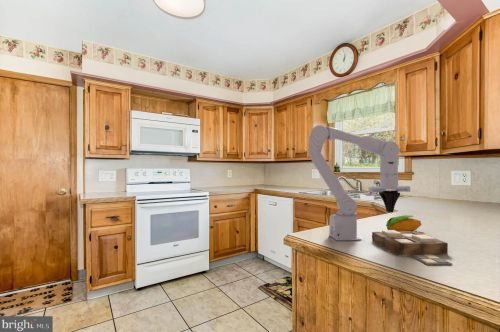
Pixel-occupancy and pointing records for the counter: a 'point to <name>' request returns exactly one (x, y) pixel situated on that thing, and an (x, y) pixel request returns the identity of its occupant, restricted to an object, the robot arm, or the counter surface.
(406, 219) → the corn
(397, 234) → the button
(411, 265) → the counter surface
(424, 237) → the button
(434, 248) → the button board
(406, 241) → the button
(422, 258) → the card
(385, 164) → the robot arm
